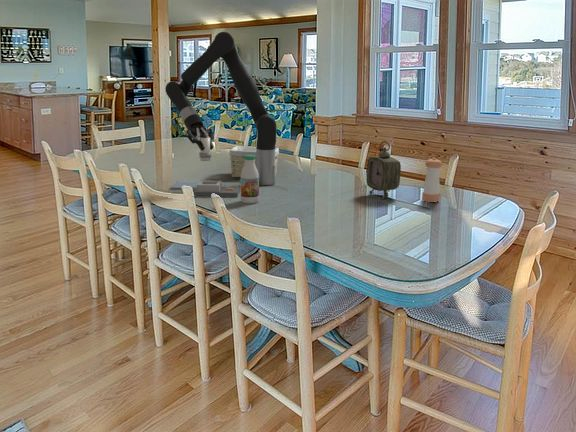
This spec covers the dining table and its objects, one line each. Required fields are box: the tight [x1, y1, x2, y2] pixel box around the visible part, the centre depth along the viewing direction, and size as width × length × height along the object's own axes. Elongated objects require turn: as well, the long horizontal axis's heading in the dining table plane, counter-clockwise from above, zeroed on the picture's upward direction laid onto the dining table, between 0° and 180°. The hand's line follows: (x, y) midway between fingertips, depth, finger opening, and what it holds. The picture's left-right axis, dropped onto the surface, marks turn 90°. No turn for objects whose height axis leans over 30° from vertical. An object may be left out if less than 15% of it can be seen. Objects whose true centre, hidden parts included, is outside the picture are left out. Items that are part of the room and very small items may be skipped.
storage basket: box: [229, 145, 280, 178], centre depth 286 cm, size 24×16×15 cm
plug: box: [198, 134, 212, 162], centre depth 243 cm, size 5×5×12 cm
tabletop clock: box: [366, 140, 402, 200], centre depth 244 cm, size 14×9×25 cm, turn 24°
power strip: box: [192, 180, 241, 198], centre depth 246 cm, size 20×12×5 cm, turn 90°
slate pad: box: [170, 180, 200, 191], centre depth 260 cm, size 14×14×1 cm
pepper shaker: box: [421, 157, 443, 203], centre depth 238 cm, size 7×7×19 cm
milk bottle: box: [240, 155, 260, 205], centre depth 231 cm, size 8×8×20 cm
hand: (207, 148), depth 242 cm, fingers closed on plug, 4 cm apart
